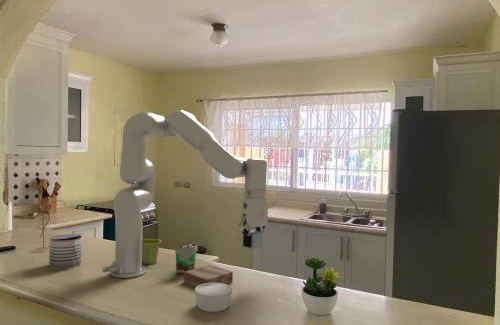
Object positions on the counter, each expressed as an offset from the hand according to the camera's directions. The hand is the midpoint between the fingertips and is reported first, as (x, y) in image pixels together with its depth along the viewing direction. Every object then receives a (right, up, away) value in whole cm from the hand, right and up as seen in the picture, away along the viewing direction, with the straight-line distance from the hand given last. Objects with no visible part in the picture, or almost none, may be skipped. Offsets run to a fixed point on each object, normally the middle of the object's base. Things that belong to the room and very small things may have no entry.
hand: (252, 244), depth 131 cm
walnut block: (-15, -14, 0) cm, 21 cm away
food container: (-24, -13, +12) cm, 30 cm away
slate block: (0, -1, 0) cm, 1 cm away
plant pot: (-42, -12, +22) cm, 49 cm away
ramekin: (-12, -14, -20) cm, 27 cm away
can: (-73, -12, +15) cm, 75 cm away
